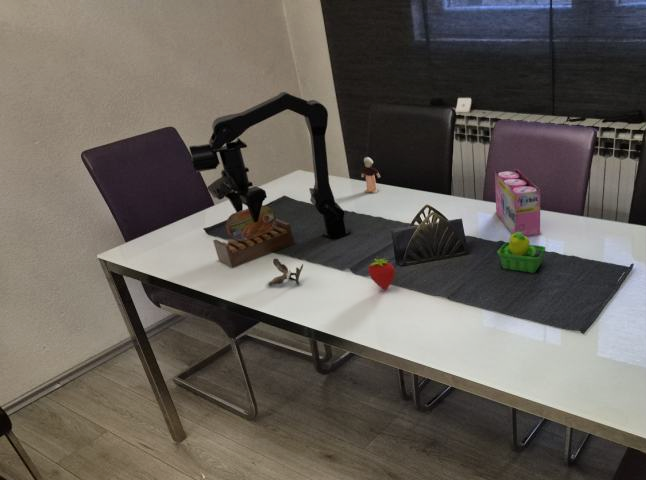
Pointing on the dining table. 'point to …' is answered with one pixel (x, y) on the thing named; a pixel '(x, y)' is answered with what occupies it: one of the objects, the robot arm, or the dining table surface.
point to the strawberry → (382, 273)
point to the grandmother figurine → (370, 175)
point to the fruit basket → (521, 254)
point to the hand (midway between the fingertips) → (248, 218)
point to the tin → (250, 224)
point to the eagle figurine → (285, 273)
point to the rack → (254, 245)
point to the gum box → (518, 202)
